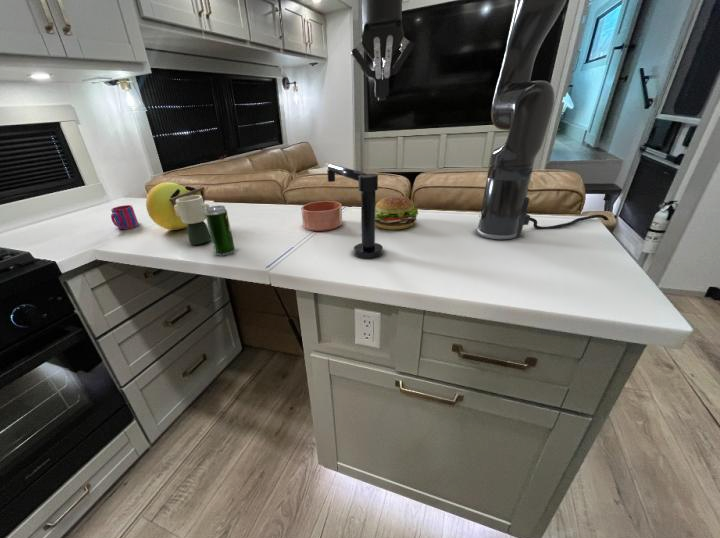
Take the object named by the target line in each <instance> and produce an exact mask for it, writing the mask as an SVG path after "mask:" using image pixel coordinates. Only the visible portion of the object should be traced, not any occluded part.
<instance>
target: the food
mask: <svg viewBox="0 0 720 538" xmlns="http://www.w3.org/2000/svg"><path fill="white" fill-rule="evenodd" d="M418 216H419V210H418V207H417V206H416V204H414V202H413V200H412V199H410V198H409V197H406V196H401V195H391V196H386V197H383V198H381V199H380V200H379V201H378V202H375V227H378V228H379V229H383V230H393V231H395V230H397V231H398V230H402V229H403V230H404V229H408V228H410V227H412V226H414V224H415V222H416V220H417V217H418Z"/></svg>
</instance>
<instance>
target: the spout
mask: <svg viewBox="0 0 720 538" xmlns="http://www.w3.org/2000/svg"><path fill="white" fill-rule="evenodd" d="M326 171H327V182H329V183H333V182H336V175H338V176H341V177H344V178H347V179H351V180H354V181H356V182H358V191H359V192H361V191H363V192H370V191H375V192H376V191H377V190H378V189H379V175H378V174H377V173H365V172H362V171H358V170H354V169H351V168H348V167H344V166H340V165H337V164H334V163H330V164H329V165H327V170H326Z"/></svg>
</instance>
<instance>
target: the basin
mask: <svg viewBox="0 0 720 538" xmlns="http://www.w3.org/2000/svg"><path fill="white" fill-rule="evenodd" d="M300 209H301V219H302V226H303V228H304V229H307V230H309V231H314V232H326V231H331V230H335V229H337V228H338V227H340V226H341V225H342V224H343V205H342V203H341V202H339V201H335V200H334V201H333V200H321V201H320V200H319V201H313V202H309V203H306V204H304V205H302V207H301V208H300Z"/></svg>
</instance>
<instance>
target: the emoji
mask: <svg viewBox="0 0 720 538" xmlns="http://www.w3.org/2000/svg"><path fill="white" fill-rule="evenodd" d="M191 195H200V196H202V198H203V202H204V203H205V201H206V195H205V186H201V187H198V188H195V187H192V186H189V185H186V186H185V187H184V186H183V185H181V184H179V183H176V182H169V181H168V182H167V181H166V182H161V183H158V184H157V185H154V186H153V187H152V188H151V189H150V190H149V192H148V193H147V195H146V200H145V208H146V211H147V214H148V216H149V217H150V219H151V220H152V221H153V222H154V223H155V224H157V225H158V226H159V227H160V228H163V229H166V230H169V231H178V230H182V229H185V228H187V225H188V224H186V223H183V222H182V219H181V216H177V215H176V213H175V209H174V205H177V202H176V200H177V199H178V198H181V197H185V196H191ZM178 210H179V209H178Z"/></svg>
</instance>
